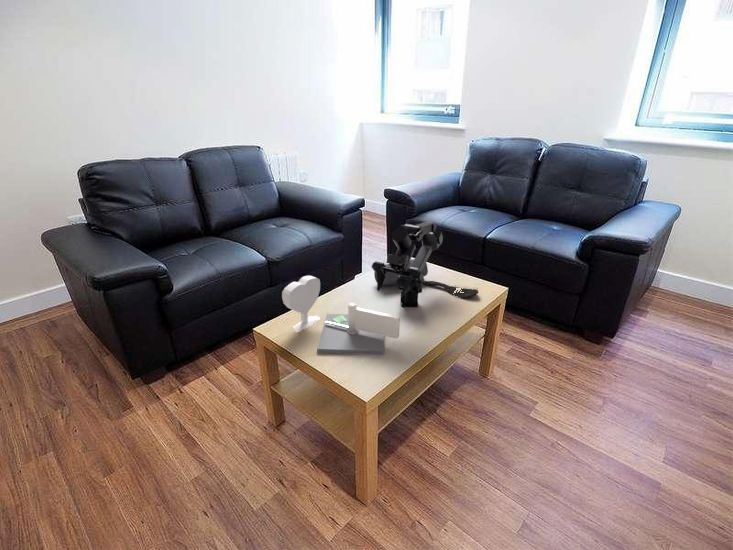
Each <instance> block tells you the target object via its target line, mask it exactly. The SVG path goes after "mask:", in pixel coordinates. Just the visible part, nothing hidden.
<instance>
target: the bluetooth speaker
mask: <svg viewBox="0 0 733 550" xmlns="http://www.w3.org/2000/svg"><path fill="white" fill-rule="evenodd" d="M414 259H415V258H413V259H412V258H411V260H410V261H411V263H410V265H409V266H408V268H410V266H411V264H412V263H413V261H414ZM384 264H385V263H384ZM385 266H386V267H390V268H391V266H389V263H386V264H385ZM428 270H429V269H428V263H427V262H426V263H425V265H424V267H423V269H422V271H421V273H422V275H423V277H424V278H425V277H426V276H427V275H428V273H429V271H428ZM373 272H374V274H373V275H374V279H375V282H376V283H377V274H376V273H375V271H373ZM399 276H400V275H397V274H392V273H388V272H386V274H385V279H384V282H383V284H382V286H386V285H390V286H398V284H397V280H398V277H399Z"/></svg>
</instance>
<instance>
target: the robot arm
mask: <svg viewBox="0 0 733 550" xmlns="http://www.w3.org/2000/svg"><path fill="white" fill-rule="evenodd" d="M391 238H392V241H393V243H394V245H395V246H396V248H397V250H396V252H394V254H389V253H388V254H387V258H386V264H389V266H391V268H390V267H386V266H385V263H384V262H381V261H377V260H375V261H374V262H372V264H371V269H372V270H373V272H375V273H376V274H377V282H376V287H377V289H376V290H377V292H380V290H381V288H382V286H383V285H382V284H383V282H384V279H385V274H386V272H388V273H392V274H397V275H400V276H399V277H398V280H397V284H398V285H397V288H398V290H399V291H400V298H399V299H400V304H401V307H402V308H403V307H404V308H407V307H408V308H409V307H410V308H411V307H412V308H418V307H419V301H418V299H419V294H421V293H422V292H423V287H424V284H423V282H424V281H425V276H424V277H423V275H422V273H421V271H422V269H423V267H424V265H425V263H427V261H428V260H429V258H430V256H431V253H432V252H434V251H436V250H438V249H439V247H440V246H441V245H442V243H443V239H444V236H443V232H442V230H440V229H439V227H438V226H437V223H436V222H434V221H423V222H421V223H418V224H410V223H405V224H400V226H399V227H397V228H395V229H394V230H393V231H392V232H391ZM414 241H415V242H420V241H421V244H422V245H421V246H420V249H419V250H418V252H417V254H416V255H415V258H413V259H414V261H413V263H412V264H411V266H410V268H408V266H409V265H410V263H411V261H410V260H412V257H413V254H414V252H415V251H416V249H417V248H416V244H415V242H414Z"/></svg>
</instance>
